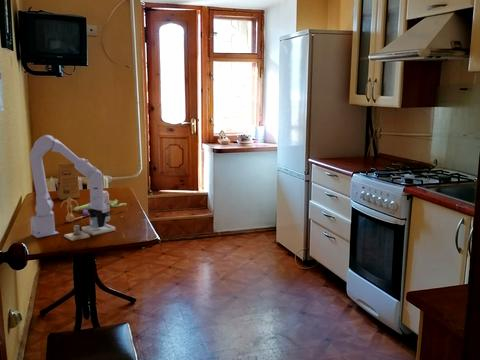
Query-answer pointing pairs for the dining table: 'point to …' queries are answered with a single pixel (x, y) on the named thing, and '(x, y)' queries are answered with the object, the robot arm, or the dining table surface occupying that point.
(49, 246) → the dining table surface
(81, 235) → the post stand
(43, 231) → the robot arm
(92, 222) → the pale blue cube
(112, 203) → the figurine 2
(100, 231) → the tray
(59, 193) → the coffee package
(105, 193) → the supplement can
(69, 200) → the figurine
